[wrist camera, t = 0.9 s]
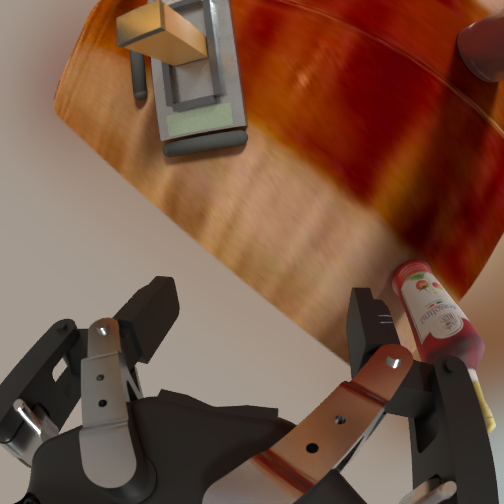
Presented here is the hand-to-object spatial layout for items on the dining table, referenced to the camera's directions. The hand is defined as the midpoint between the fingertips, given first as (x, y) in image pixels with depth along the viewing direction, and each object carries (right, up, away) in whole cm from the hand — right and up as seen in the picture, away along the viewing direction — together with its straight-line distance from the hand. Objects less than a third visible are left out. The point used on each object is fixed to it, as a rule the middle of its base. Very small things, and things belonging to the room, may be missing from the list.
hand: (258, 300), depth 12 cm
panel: (-8, +29, +18) cm, 35 cm away
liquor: (+24, -1, +26) cm, 35 cm away
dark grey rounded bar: (-7, +17, +23) cm, 29 cm away
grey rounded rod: (-17, +32, +19) cm, 40 cm away
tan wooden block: (-8, +28, +16) cm, 34 cm away
